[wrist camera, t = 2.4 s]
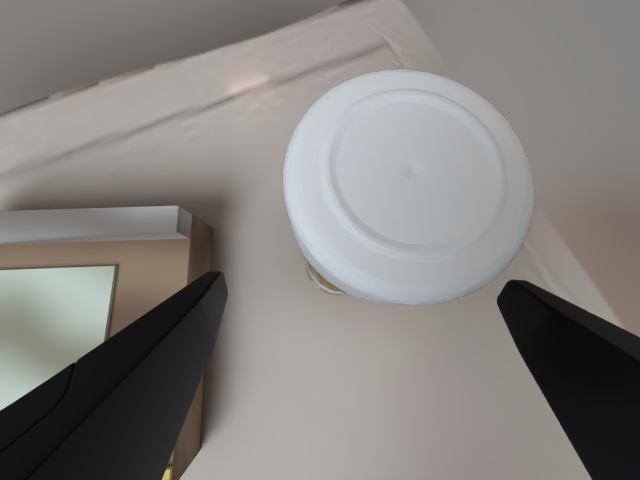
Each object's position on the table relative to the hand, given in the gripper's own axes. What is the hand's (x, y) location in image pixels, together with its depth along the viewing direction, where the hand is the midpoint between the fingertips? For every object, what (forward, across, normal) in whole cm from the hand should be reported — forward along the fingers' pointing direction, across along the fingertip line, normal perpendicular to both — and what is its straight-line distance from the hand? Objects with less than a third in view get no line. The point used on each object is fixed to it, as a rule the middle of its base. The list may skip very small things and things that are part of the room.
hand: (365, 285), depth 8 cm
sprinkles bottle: (+8, 0, +6) cm, 10 cm away
